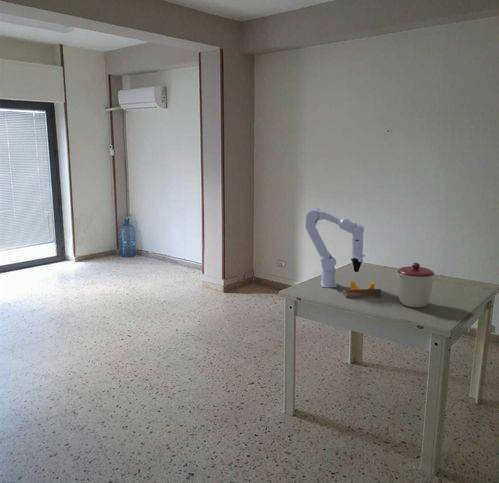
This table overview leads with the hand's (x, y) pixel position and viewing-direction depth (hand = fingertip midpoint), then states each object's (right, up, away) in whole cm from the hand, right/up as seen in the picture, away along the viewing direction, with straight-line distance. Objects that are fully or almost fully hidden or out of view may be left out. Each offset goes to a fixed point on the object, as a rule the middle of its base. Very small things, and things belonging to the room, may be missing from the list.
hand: (356, 271), depth 263 cm
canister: (+22, -15, -26) cm, 37 cm away
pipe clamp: (+1, -12, -9) cm, 15 cm away
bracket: (0, -12, -11) cm, 16 cm away
